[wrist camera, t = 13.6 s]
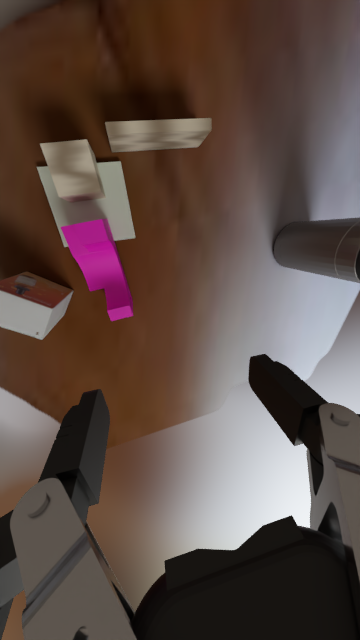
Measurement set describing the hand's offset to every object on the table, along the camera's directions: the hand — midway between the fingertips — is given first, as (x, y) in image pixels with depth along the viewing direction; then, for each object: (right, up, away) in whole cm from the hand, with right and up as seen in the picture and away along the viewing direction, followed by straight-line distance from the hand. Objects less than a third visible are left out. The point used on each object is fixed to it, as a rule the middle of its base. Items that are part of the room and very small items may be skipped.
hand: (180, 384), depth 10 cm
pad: (-15, +22, +22) cm, 34 cm away
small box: (-25, +8, +26) cm, 37 cm away
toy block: (-14, +13, +26) cm, 32 cm away
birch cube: (-14, +22, +18) cm, 32 cm away
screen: (-4, +31, +20) cm, 38 cm away
